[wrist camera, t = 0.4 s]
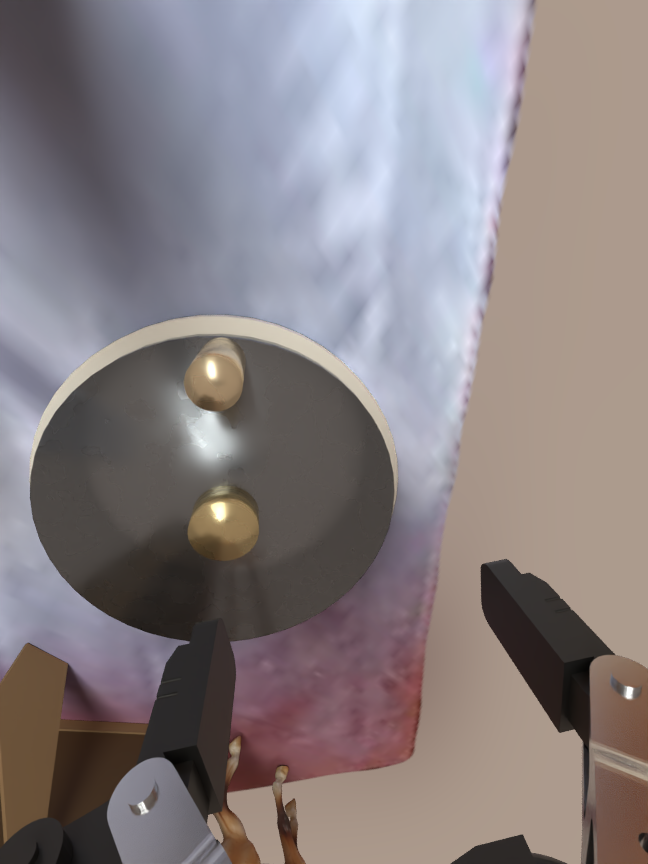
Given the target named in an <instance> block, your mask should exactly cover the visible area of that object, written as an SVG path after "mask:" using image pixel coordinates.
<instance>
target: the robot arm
mask: <svg viewBox="0 0 648 864" xmlns="http://www.w3.org/2000/svg"><path fill="white" fill-rule="evenodd" d="M481 602H482V609H483V612H484V615H485V618H486V620H487V622H488V624H489V626H490V627H491V629H492V630H493V632H494V633H495V635H496V636H497V638H498V639H499V641H500V643H501V644H502V646H503V647H504V648H505V650H506V652H507V653H508V655H509V656H510V658H511V659H512V661H513V662H514V664H515V666H516V667H517V669H518V670H519V672H520V673H521V675H522V676H523V678H524V679H525V681H526V682H527V684H528V685H529V687H530V689H531V690H532V692H533V693H534V695H535V696H536V698H537V699H538V701H539V702H540V704H541V705H542V707H543V708H544V710H545V711H546V713H547V714H548V716H549V718H550V719H551V721H552V722H553V724H554V725H555V727H556V728H557V730H558V731H559V732H560V733H561V732H565V731H569V730H573V729H575V730H576V732H577V733H578V735H579V736H580V738H581V739H582V741H583V742H582V851H581V864H648V669H647V668H646V667H644V666H643V665H641V664H639V663H637V662H635V661H633V660H631V659H629V658H625V657H622V656H618V655H615V654H614V653H613V652H612V651H611V650H610V649H609V648H608V647H607V646H606V645H605V644H604V643H603V641H602V640H601V639H600V638H599V637H598V636H597V635H596V634H595V633H594V632H593V631H592V630H591V629H590V628H589V627H588V626H587V625H586V623H584V621H583V620H582V619H581V618H580V617H579V616H578V615H577V614H576V613H575V612H574V611H573V610H571V609H570V607H569V606H568V605H567V604H566V602H565V601H564V600H563V599H560V596H559V595H558V594H557V593H556V592H555V591H554V590H553V589H552V588H551V587H550V586H549V585H548V584H547V583H546V582H545V581H543V580H541V579H539V578H537V577H536V576H534V575H532V574H531V573H526V574H521V573H520V572H519V571H518V570H517V569H516V568H515V567H514V565H513V564H512V563H511V562H510V561H509V560H507V559H504V560H499V561H494V562H489V563H485V564H482V565H481ZM235 680H236V668H235V659H234V655H233V651H232V648H231V645H230V641H229V638H228V635H227V631H226V628H225V625H224V622H223V620H222V618H217V619H212V620H207V621H203V622H198V623H195V625H194V627H193V631H192V635H191V639H190V643H189V644H186V645H181V646H178V647H177V648H176V650H175V651H174V653H173V654H172V656H171V657H170V659H169V660H168V662H167V663H166V666H165V669H164V673H163V676H162V680H161V685H160V686H159V690H158V693H157V700H155V703H154V707H153V710H152V714H151V717H150V720H149V724H148V727H147V731H146V734H145V737H144V741H143V744H142V748H141V751H140V754H139V758H138V761H137V763H136V766H135V767H134V768H132V769H131V770H130V771H129V772H128V773H127V774H126V775H125V776H124V777H123V778H122V780H121V781H120V782H119V784H118V785H117V787H116V788H115V790H114V792H113V794H112V796H111V798H110V799H109V800H108V801H107V802H105V803H104V804H102V805H101V806H99V807H98V808H96V809H94V810H92V811H91V812H89V813H87V814H85V815H84V816H82V817H80V818H78V819H77V820H75V821H73V822H72V823H70V824H68V825H66V826H65V827H62V825H61V824H60V822H59V821H57V820H56V819H54V818H41V819H38V820H35V821H33V822H31V823H29V824H27V825H26V826H24V827H23V828H21V829H20V830H19V831H17V832H16V833H15V834H14V835H13V836H12V837H11V838H10V839H8V840H7V841H6V842H5V844H4V845H3V846H2V847H1V848H0V864H232V862H231V860H230V859H229V857H228V855H227V853H226V852H225V850H224V848H223V847H222V845H221V844H220V842H219V841H218V840H216V839H215V837H214V836H213V834H212V833H211V831H210V829H209V827H208V826H207V819H208V815H209V814H213V813H217V812H222V809H223V799H224V789H225V779H226V769H227V759H228V749H229V739H230V729H231V720H232V710H233V700H234V690H235ZM451 864H567V863H565V862H562V861H560V860H557V859H554V858H552V857H549V856H545V855H541V854H536V853H531V852H530V849H529V847H528V845H527V843H526V841H525V839H524V836H523V835H518V836H514V837H510V838H506V839H502V840H498V841H494V842H490V843H487V844H482V845H478V846H475V847H474V848H472V849H471V850H470V851H468V852H467V853H465V854H464V855H462V856H461V857H459V858H458V859H457V860H455V861H454V862H452V863H451Z"/></svg>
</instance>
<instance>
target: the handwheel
mask: <svg viewBox="0 0 648 864" xmlns="http://www.w3.org/2000/svg"><path fill="white" fill-rule="evenodd" d="M30 501H31V508H32V515H33V520H34V523H35V526H36V529H37V533H38V536H39V539H40V541H41V543H42V545H43V547H44V549H45V551H46V553H47V555H48V557H49V559H50V560H51V561H52V563H53V564H54V566H55V567H56V569H57V570H58V571H59V573H60V574H61V576H62V577H63V578H64V579H65V580H66V581H67V582H68V583H69V584H70V585H71V586H72V588H73V589H74V590H75V591H76V592H78V593H79V594H80V595H81V596H82V597H84V598H85V599H86V600H87V601H88V602H90V603H91V604H92V605H94V606H95V607H97V608H98V609H100V610H101V611H103V612H104V613H106V614H107V615H109V616H111V617H113V618H115V619H117V620H119V621H121V622H123V623H125V624H127V625H129V626H132V627H134V628H137V629H140V630H143V631H145V632H148V633H152V634H156V635H159V636H163V637H167V638H173V639H179V640H185V641H190V639H191V635H192V631H193V627H194V625H195V623H198V622H203V621H207V620H212V619H217V618H222V620H223V622H224V625H225V628H226V631H227V635H228V638H229V641H238V640H246V639H252V638H257V637H261V636H266V635H270V634H273V633H276V632H279V631H282V630H285V629H288V628H290V627H293V626H295V625H297V624H299V623H302V622H304V621H306V620H308V619H310V618H311V617H313V616H315V615H317V614H319V613H320V612H322V611H323V610H325V609H326V608H328V607H329V606H331V605H332V604H333V603H335V602H336V601H338V600H339V599H340V598H341V597H342V596H343V595H344V594H346V593H347V592H348V591H349V590H350V589H351V588H352V587H353V586H354V585H355V584H356V583H357V582H358V580H359V579H360V578H361V577H362V576H363V575H364V573H365V572H366V571H367V569H368V568H369V566H370V565H371V564H372V562H373V561H374V559H375V557H376V555H377V554H378V552H379V550H380V548H381V546H382V544H383V541H384V539H385V536H386V534H387V531H388V528H389V525H390V520H391V516H392V512H393V503H394V476H393V469H392V464H391V460H390V455H389V452H388V449H387V446H386V444H385V441H384V438H383V436H382V434H381V432H380V430H379V428H378V426H377V425H376V423H375V421H374V419H373V417H372V416H371V415H370V413H369V412H368V411H367V409H366V408H365V407H364V405H363V404H362V403H361V402H360V400H359V399H358V398H357V396H356V395H355V394H354V392H353V391H352V390H351V389H349V388H348V387H347V386H346V385H345V384H344V383H343V382H342V381H341V380H340V379H339V378H338V377H337V376H336V375H334V374H333V373H332V372H330V371H329V370H328V369H326V368H325V367H324V366H322V365H321V364H319V363H318V362H316V361H314V360H312V359H310V358H309V357H307V356H305V355H303V354H301V353H300V352H297V351H295V350H292V349H290V348H287V347H285V346H282V345H279V344H277V343H274V342H270V341H266V340H262V339H258V338H254V337H249V336H240V335H231V334H195V335H188V336H181V337H175V338H169V339H166V340H163V341H159V342H156V343H152V344H149V345H145V346H143V347H141V348H139V349H136V350H134V351H132V352H130V353H127V354H125V355H123V356H121V357H119V358H118V359H116V360H115V361H113V362H111V363H110V364H108V365H107V366H105V367H103V368H102V369H100V370H99V371H97V372H96V373H94V374H93V375H91V376H90V377H89V378H88V379H87V380H85V381H84V382H83V383H82V384H81V385H80V386H78V387H77V388H76V389H75V390H74V391H73V392H72V393H71V394H70V395H69V396H68V397H67V398H66V400H65V401H64V402H63V403H62V404H61V406H60V407H59V408H58V409H57V410H56V412H55V413H54V415H53V417H52V418H51V420H50V422H49V423H48V425H47V427H46V428H45V430H44V432H43V434H42V437H41V439H40V442H39V444H38V447H37V450H36V452H35V456H34V461H33V466H32V471H31V476H30Z"/></svg>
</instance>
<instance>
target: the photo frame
mask: <svg viewBox="0 0 648 864" xmlns="http://www.w3.org/2000/svg"><path fill="white" fill-rule="evenodd" d="M67 667H68V664H67V663H65V662H63V661H61V660H60V659H58V658H56V657H54V656H52V655H50V654H48V653H46V652H44V651H42V650H40V649H38V648H36V647H34V646H32V645H30V644H29V643H27V644H26V645H25V646H24V647H23V649H22V650H21V652H20V653H19V655H18V656H17V658H16V659H15V661H14V662H13V664H12V666H11V667H10V669H9V670H8V672H7V673H6V675H5V676H4V678H3V679H2V681H1V683H0V848H1V847H2V846H3V845H4V844H5V842H6V841H7V840H8V839H10V838H11V837H12V836H13V835H14V834H15V833H16V832H17V831H19V830H20V829H21V828H23V827H24V826H26V825H27V824H29V823H31V822H33V821H35V820H38V819H41V818H54V819H56V820H57V821H59V822H60V824H61V825H62V827H65V826H66V825H68V824H70V823H72V822H73V821H75V820H77V819H78V818H80V817H82V816H84V815H85V814H87V813H89V812H91V811H92V810H94V809H96V808H98V807H99V806H101V805H102V804H104V803H105V802H107V801H108V800H109V799H110V798H111V796H112V794H113V792H114V790H115V788H116V787H117V785H118V784H119V782H120V781H121V780H122V778H123V777H124V776H125V775H126V774H127V773H128V772H129V771H130V770H131V769H132V768H134V767H135V766H136V763H137V761H138V758H139V754H140V751H141V748H142V744H143V741H144V737H145V734H146V731H147V727H148V724H140V723H120V722H101V721H82V720H62V719H61V711H62V704H63V696H64V689H65V682H66V674H67Z"/></svg>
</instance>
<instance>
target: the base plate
mask: <svg viewBox="0 0 648 864" xmlns="http://www.w3.org/2000/svg"><path fill="white" fill-rule="evenodd" d="M195 334H231V335H240V336H249V337H254V338H258V339H262V340H266V341H270V342H274V343H277V344H279V345H282V346H285V347H287V348H290V349H292V350H295V351H297V352H300V353H301V354H303V355H305V356H307V357H309V358H310V359H312V360H314V361H316V362H318V363H319V364H321V365H322V366H324V367H325V368H326V369H328V370H329V371H330V372H332V373H333V374H334V375H336V376H337V377H338V378H339V379H340V380H341V381H342V382H343V383H344V384H345V385H346V386H347V387H348V388H349V389H351V390H352V391H353V392H354V394H355V395H356V396H357V398H358V399H359V400H360V402H361V403H362V404H363V405H364V407H365V408H366V409H367V411H368V412H369V413H370V415H371V416H372V417H373V419H374V421H375V423H376V425H377V426H378V428H379V430H380V432H381V434H382V436H383V438H384V441H385V444H386V446H387V449H388V452H389V455H390V460H391V464H392V469H393V476H394V503H393V509H394V504H395V500H396V495H397V483H398V469H397V456H396V451H395V446H394V442H393V438H392V435H391V432H390V429H389V427H388V424H387V421H386V419H385V417H384V415H383V413H382V411H381V409H380V408H379V406H378V404H377V402H376V400H375V399H374V397H373V396H372V395H371V393H370V392H369V391H368V389H367V388H366V387H365V385H364V384H363V383H362V382H361V380H360V379H359V378H358V377H357V376H356V375H355V374H354V373H353V372H352V371H351V370H350V369H349V368H348V367H347V366H346V365H345V364H344V363H343V362H342V361H341V360H340V359H339V358H337V357H336V356H335V355H333V354H332V353H331V352H330V351H328V350H327V349H326V348H324V347H323V346H322V345H320V344H318V343H316V342H315V341H313V340H311V339H309V338H307V337H306V336H304V335H302V334H300V333H298V332H295V331H293V330H290V329H288V328H285V327H283V326H280V325H278V324H274V323H271V322H267V321H263V320H259V319H255V318H250V317H242V316H233V315H195V316H189V317H182V318H175V319H170V320H167V321H163V322H160V323H156V324H153V325H149V326H147V327H144V328H142V329H140V330H138V331H135V332H133V333H131V334H129V335H126V336H124V337H122V338H120V339H118V340H116V341H115V342H113V343H111V344H110V345H108V346H107V347H105V348H103V349H102V350H100V351H99V352H97V353H96V354H94V355H92V356H91V357H90V358H89V359H88V360H86V361H85V362H84V363H83V364H82V365H81V366H80V367H78V368H77V369H76V370H75V371H74V372H73V373H72V374H71V375H70V376H69V377H68V378H67V380H66V381H65V382H64V383H63V384H62V386H61V387H60V388H59V389H58V390H57V392H56V393H55V394H54V396H53V398H52V399H51V401H50V403H49V405H48V406H47V408H46V410H45V411H44V413H43V415H42V418H41V420H40V423H39V426H38V428H37V431H36V433H35V436H34V441H33V446H32V451H31V456H30V476H31V471H32V466H33V461H34V456H35V452H36V450H37V447H38V444H39V442H40V439H41V437H42V434H43V432H44V430H45V428H46V427H47V425H48V423H49V422H50V420H51V418H52V417H53V415H54V413H55V412H56V410H57V409H58V408H59V407H60V406H61V404H62V403H63V402H64V401H65V400H66V398H67V397H68V396H69V395H70V394H71V393H72V392H73V391H74V390H75V389H76V388H77V387H78V386H80V385H81V384H82V383H83V382H84V381H85V380H87V379H88V378H89V377H90V376H91V375H93V374H94V373H96V372H97V371H99V370H100V369H102V368H103V367H105V366H107V365H108V364H110V363H111V362H113V361H115V360H116V359H118V358H119V357H121V356H123V355H125V354H127V353H130V352H132V351H134V350H136V349H139V348H141V347H143V346H145V345H149V344H152V343H156V342H159V341H163V340H166V339H169V338H175V337H181V336H188V335H195ZM29 482H30V481H29ZM392 513H393V512H392Z"/></svg>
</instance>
